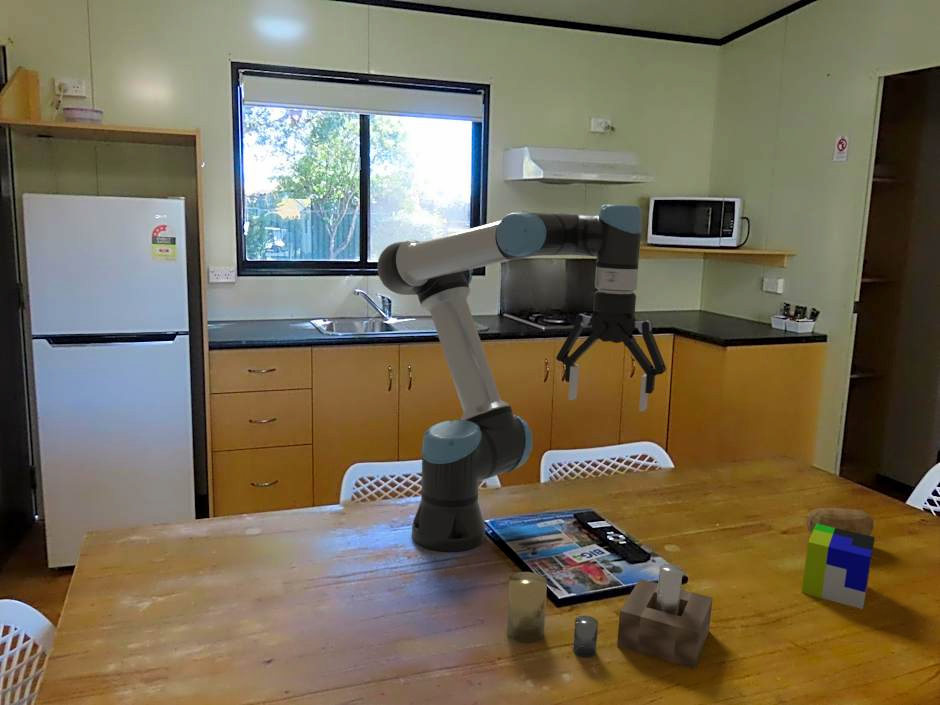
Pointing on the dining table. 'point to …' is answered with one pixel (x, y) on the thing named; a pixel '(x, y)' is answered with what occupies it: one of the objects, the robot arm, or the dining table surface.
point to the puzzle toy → (838, 565)
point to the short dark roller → (585, 636)
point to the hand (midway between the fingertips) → (606, 404)
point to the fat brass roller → (526, 607)
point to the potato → (841, 520)
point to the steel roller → (669, 589)
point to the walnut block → (665, 625)
